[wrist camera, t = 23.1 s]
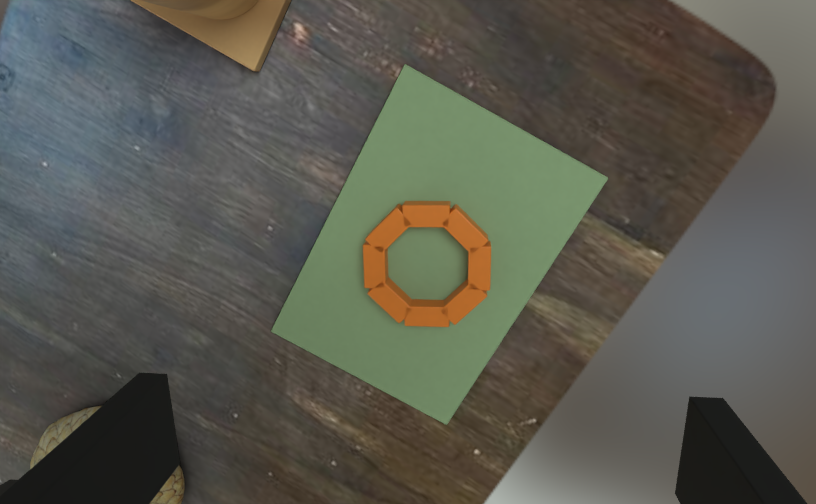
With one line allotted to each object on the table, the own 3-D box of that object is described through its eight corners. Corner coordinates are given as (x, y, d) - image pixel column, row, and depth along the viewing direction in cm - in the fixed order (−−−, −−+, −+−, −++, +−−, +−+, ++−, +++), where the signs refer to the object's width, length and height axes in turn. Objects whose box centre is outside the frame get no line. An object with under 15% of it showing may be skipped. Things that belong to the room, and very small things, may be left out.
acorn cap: (30, 463, 46) (32, 595, 40) (28, 391, 39) (30, 538, 34) (160, 439, 52) (178, 552, 46) (177, 372, 45) (201, 496, 39)
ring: (364, 200, 36) (360, 204, 35) (491, 200, 35) (492, 205, 34) (369, 317, 38) (365, 325, 37) (488, 320, 38) (489, 328, 36)
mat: (405, 64, 34) (404, 63, 34) (606, 176, 35) (608, 178, 34) (272, 328, 40) (270, 331, 40) (447, 421, 41) (446, 425, 40)
